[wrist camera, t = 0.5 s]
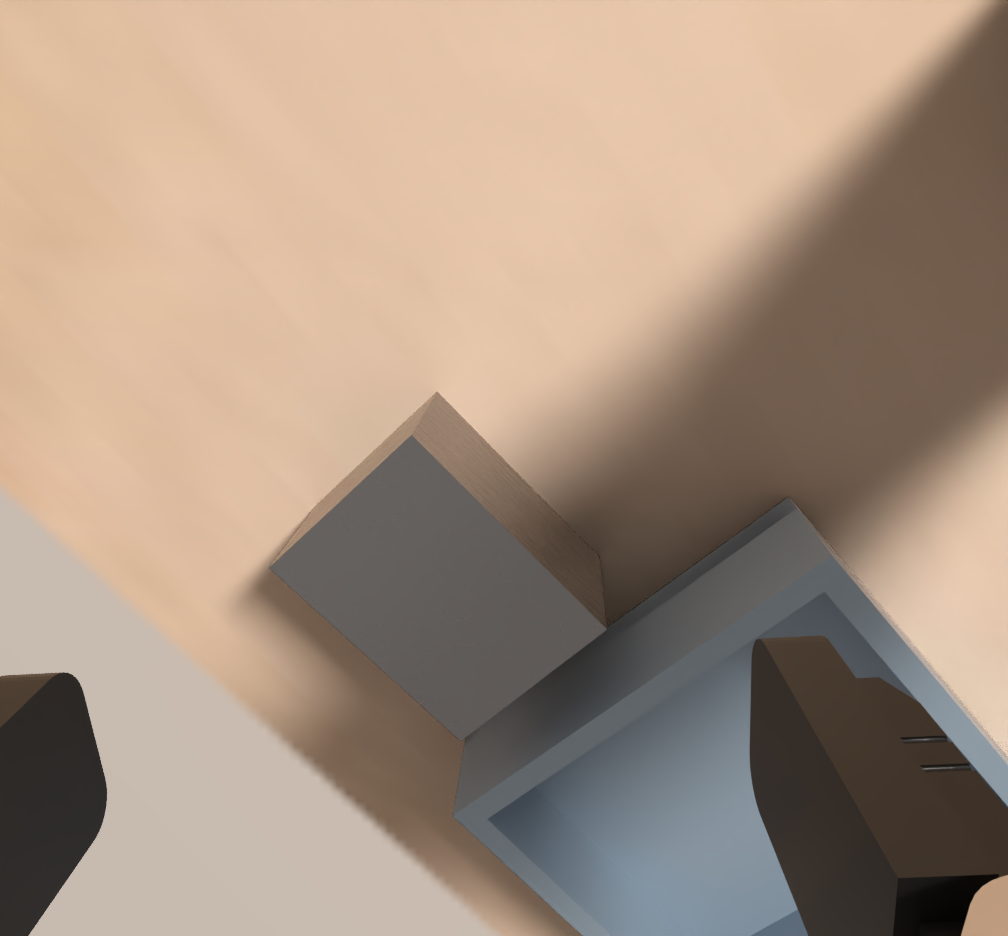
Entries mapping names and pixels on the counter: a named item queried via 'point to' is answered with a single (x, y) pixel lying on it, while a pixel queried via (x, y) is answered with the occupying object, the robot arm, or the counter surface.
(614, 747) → the box
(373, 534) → the iron block
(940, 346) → the counter surface
